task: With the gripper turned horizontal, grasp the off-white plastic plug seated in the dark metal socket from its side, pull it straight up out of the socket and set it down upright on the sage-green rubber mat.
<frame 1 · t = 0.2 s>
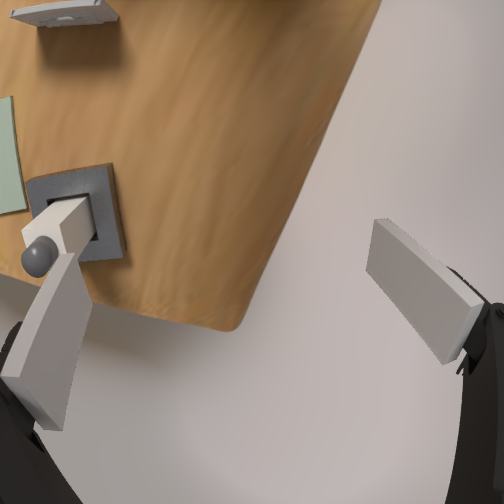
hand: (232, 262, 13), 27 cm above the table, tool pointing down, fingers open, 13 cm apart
socket: (78, 213, 38), on the table
cassette: (76, 20, 26), on the table
plug: (59, 234, 31), in the socket
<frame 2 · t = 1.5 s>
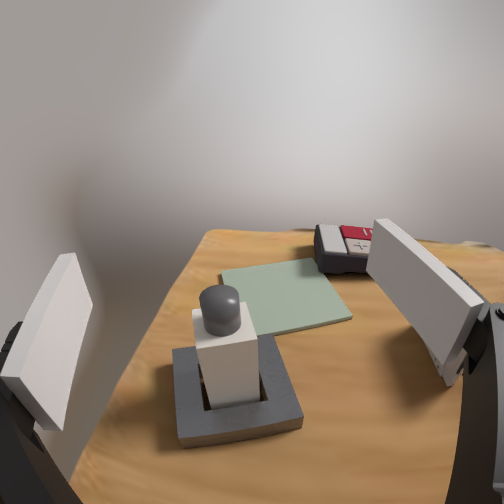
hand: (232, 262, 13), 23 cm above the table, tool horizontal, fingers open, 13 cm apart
calculator: (356, 259, 55), on the table, touching mat
socket: (232, 394, 32), on the table
cassette: (433, 353, 35), on the table
mat: (281, 295, 48), on the table
plug: (226, 354, 29), in the socket
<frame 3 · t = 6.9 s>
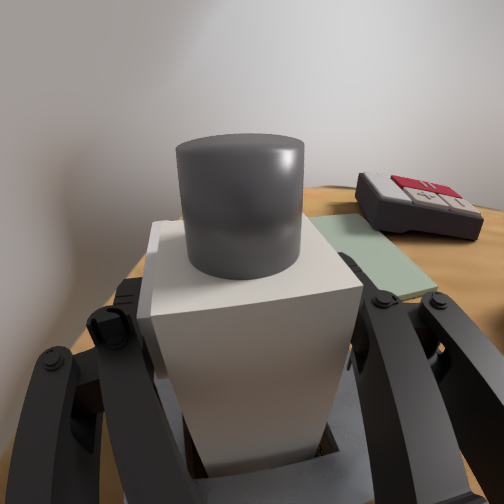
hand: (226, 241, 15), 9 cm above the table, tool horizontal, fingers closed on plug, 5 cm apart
calculator: (415, 218, 37), on the table, touching mat
socket: (252, 433, 15), on the table
mat: (322, 257, 30), on the table
plug: (247, 345, 11), in the socket, touching gripper
when the fingers open (10 cm above the table, at t = 14.3 s): plug stays where it is, resting on mat.
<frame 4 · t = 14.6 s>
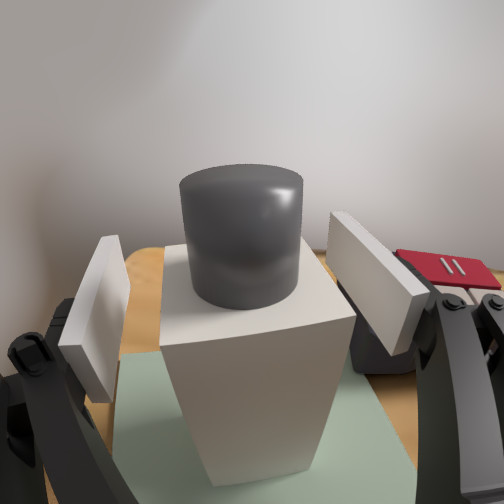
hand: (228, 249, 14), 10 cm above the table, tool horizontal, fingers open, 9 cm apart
calculator: (427, 324, 23), on the table, touching mat
mat: (252, 445, 15), on the table
plug: (248, 362, 12), on the mat, point 8 cm above the table
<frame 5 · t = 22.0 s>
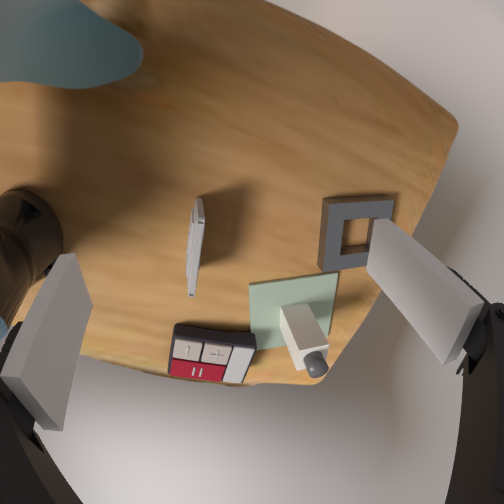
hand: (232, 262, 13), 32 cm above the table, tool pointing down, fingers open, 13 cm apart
calculator: (209, 348, 59), on the table, touching mat
socket: (352, 229, 52), on the table
cassette: (193, 234, 47), on the table
mat: (292, 312, 58), on the table
plug: (305, 340, 52), on the mat, point 8 cm above the table
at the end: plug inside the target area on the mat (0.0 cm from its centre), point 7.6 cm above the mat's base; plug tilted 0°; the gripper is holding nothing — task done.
